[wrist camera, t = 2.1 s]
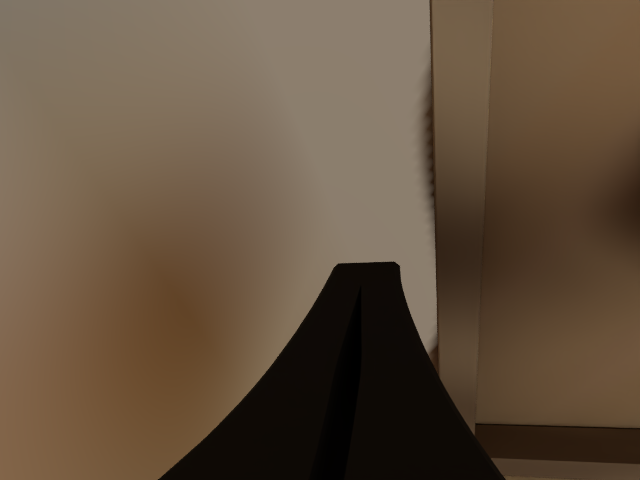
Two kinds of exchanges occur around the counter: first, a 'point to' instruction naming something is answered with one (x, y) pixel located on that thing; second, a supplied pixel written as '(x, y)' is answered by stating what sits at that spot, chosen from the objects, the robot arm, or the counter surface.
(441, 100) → the shallow wooden tray
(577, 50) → the counter surface
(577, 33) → the counter surface
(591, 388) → the counter surface
